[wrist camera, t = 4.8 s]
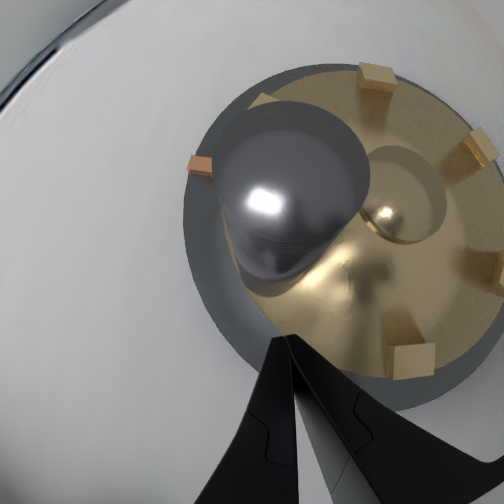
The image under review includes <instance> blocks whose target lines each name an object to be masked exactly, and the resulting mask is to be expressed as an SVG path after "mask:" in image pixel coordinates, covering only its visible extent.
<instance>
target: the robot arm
mask: <svg viewBox="0 0 504 504" xmlns="http://www.w3.org/2000/svg"><path fill="white" fill-rule="evenodd" d="M294 397H295V400H296V403H297V406H298V408H299V411H300V414H301V417H302V419H303V422H304V425H305V428H306V430H307V433H308V436H309V439H310V441H311V444H312V447H313V450H314V452H315V455H316V458H317V460H318V463H319V466H320V469H321V471H322V474H323V477H324V479H325V482H326V485H327V488H328V490H329V493H330V495H331V498H332V501H333V504H504V455H503V456H502V457H500V458H499V459H497V460H496V461H494V462H489V463H486V462H482V461H479V460H477V459H475V458H474V457H472V456H470V455H468V454H466V453H464V452H462V451H461V450H459V449H457V448H455V447H453V446H452V445H450V444H448V443H446V442H444V441H443V440H441V439H439V438H437V437H436V436H434V435H432V434H430V433H429V432H427V431H425V430H424V429H422V428H420V427H418V426H417V425H415V424H413V423H412V422H410V421H408V420H407V419H405V418H403V417H402V416H400V415H398V414H397V413H395V412H393V411H392V410H390V409H389V408H387V407H386V406H384V405H383V404H381V403H380V402H379V401H377V400H376V399H375V398H373V397H372V396H371V395H369V394H368V393H367V392H366V391H365V390H363V389H361V388H360V387H359V386H358V385H357V384H356V383H354V382H353V381H352V380H351V379H350V378H348V377H347V376H346V375H345V374H343V373H342V372H341V371H340V370H339V369H338V368H336V367H335V366H334V365H333V364H332V363H330V362H329V361H328V360H327V359H326V358H324V357H323V356H322V355H321V354H320V353H318V352H317V351H316V350H315V349H314V348H313V347H311V346H310V345H309V344H308V343H307V342H306V341H304V340H303V339H302V338H301V337H300V336H299V335H297V334H290V335H285V337H284V336H278V337H273V338H271V341H270V344H269V346H268V349H267V352H266V355H265V358H264V361H263V364H262V367H261V370H260V372H259V375H258V378H257V381H256V384H255V386H254V389H253V392H252V395H251V397H250V400H249V403H248V406H247V408H246V411H245V413H244V416H243V418H242V421H241V423H240V426H239V428H238V430H237V433H236V435H235V436H234V438H233V440H232V442H231V444H230V446H229V448H228V449H227V451H226V453H225V454H224V456H223V458H222V459H221V461H220V463H219V464H218V466H217V468H216V469H215V471H214V472H213V474H212V476H211V477H210V479H209V481H208V482H207V484H206V485H205V487H204V489H203V490H202V492H201V493H200V495H199V496H198V498H197V499H196V501H195V503H194V504H299V492H298V464H297V441H296V421H295V403H294Z"/></svg>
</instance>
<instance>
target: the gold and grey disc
mask: <svg viewBox="0 0 504 504" xmlns="http://www.w3.org/2000/svg"><path fill="white" fill-rule="evenodd" d="M358 66H359V65H350V64H318V65H310V66H303V67H299V68H295V69H291V70H288V71H284V72H282V73H279V74H277V75H274V76H272V77H269V78H267V79H265V80H263V81H261V82H260V83H258V84H256V85H254V86H253V87H251V88H249V89H248V90H247V91H245V92H244V93H243V94H241V95H240V96H239V97H237V98H236V99H235V100H234V101H233V102H232V103H231V104H230V105H229V106H228V107H227V108H226V109H225V110H224V111H223V112H222V113H221V114H220V115H219V116H218V117H217V119H216V120H215V121H214V123H213V124H212V126H211V127H210V128H209V130H208V131H207V133H206V134H205V136H204V138H203V140H202V142H201V144H200V146H199V148H198V150H197V151H196V154H195V156H194V155H191V158H190V161H189V164H188V167H187V170H188V172H189V174H188V180H187V185H186V190H185V196H184V212H183V228H184V238H185V246H186V253H187V257H188V261H189V265H190V268H191V272H192V276H193V280H194V282H195V284H196V287H197V289H198V291H199V294H200V296H201V298H202V301H203V303H204V305H205V307H206V309H207V311H208V312H209V314H210V316H211V317H212V319H213V321H214V322H215V324H216V326H217V327H218V329H219V330H220V332H221V333H222V335H223V336H224V337H225V338H226V340H227V341H228V342H229V343H230V344H231V346H232V347H233V348H234V349H235V350H236V352H237V353H238V354H239V355H240V356H241V357H242V358H243V359H244V360H245V361H246V362H247V363H249V364H250V365H251V366H252V367H253V368H254V369H255V370H256V371H258V372H260V370H261V367H262V364H263V361H264V358H265V355H266V352H267V349H268V346H269V344H270V341H271V338H273V337H278V336H284V335H283V334H282V333H281V332H280V331H279V330H278V329H276V328H275V327H274V326H273V325H272V324H271V322H270V321H269V320H268V319H267V318H266V316H265V315H264V314H263V313H262V312H261V310H260V309H259V308H258V307H257V305H256V304H255V302H254V301H253V299H252V297H251V296H250V294H249V293H248V291H247V290H246V288H245V286H244V284H243V282H242V280H241V278H240V276H239V273H238V271H237V269H236V267H235V265H234V262H233V259H232V256H231V252H230V249H229V246H228V242H227V239H226V235H225V230H224V223H223V217H222V209H221V206H220V202H219V199H218V195H217V191H216V188H215V184H214V181H213V176H212V155H213V150H214V147H215V144H216V142H217V140H218V138H219V136H220V134H221V133H222V131H223V130H224V128H225V127H226V126H227V125H228V124H229V123H230V122H231V121H232V120H233V119H234V118H236V117H237V116H238V115H240V114H241V113H243V112H244V111H246V110H247V109H248V108H249V107H250V106H251V105H252V103H253V102H254V101H255V100H256V99H257V98H258V96H259V95H260V94H261V93H264V94H267V95H269V96H270V95H271V94H273V93H274V92H275V91H277V90H278V89H280V88H282V87H284V86H286V85H287V84H289V83H291V82H294V81H296V80H299V79H301V78H304V77H307V76H311V75H315V74H319V73H324V72H332V71H357V69H358ZM395 78H396V79H397V80H400V81H403V82H406V83H408V84H410V85H412V86H414V87H416V88H418V89H420V90H422V91H424V92H426V93H427V94H429V95H431V96H432V97H434V98H435V99H437V100H438V101H440V102H441V103H442V104H444V105H445V106H446V107H448V108H449V109H450V110H451V111H452V112H454V113H455V114H456V115H457V116H458V117H459V118H460V119H461V120H462V121H463V122H464V123H465V124H466V125H467V126H468V127H469V128H470V129H471V130H472V131H473V129H472V128H471V126H470V125H469V124H468V123H467V122H466V121H465V120H464V119H463V118H462V117H461V116H460V115H459V114H458V113H457V112H456V111H454V110H453V109H452V108H451V107H450V106H449V105H447V104H446V103H445V102H443V101H442V100H441V99H439V98H438V97H437V96H435V95H434V94H432V93H431V92H429V91H427V90H426V89H424V88H422V87H420V86H419V85H417V84H415V83H413V82H411V81H409V80H406V79H404V78H402V77H400V76H397V75H395ZM493 162H494V164H495V166H496V168H497V170H498V172H499V174H500V176H501V179H502V181H503V184H504V177H503V175H502V173H501V170H500V168H499V166H498V164H497V163H496V161H495V159H494V160H493ZM503 330H504V302H503V304H502V306H501V308H500V310H499V312H498V314H497V316H496V318H495V319H494V321H493V322H492V324H491V325H490V327H489V328H488V330H487V331H486V332H485V333H484V335H483V336H482V337H481V338H480V339H479V340H478V341H477V343H476V344H475V345H473V346H472V347H471V348H470V349H469V350H467V351H466V352H465V353H464V354H463V355H461V356H460V357H458V358H457V359H455V360H453V361H452V362H450V363H448V364H447V365H445V366H443V367H440V368H438V369H435V370H434V375H430V376H423V377H416V378H409V379H401V380H390V379H388V378H380V377H372V376H364V375H359V374H356V373H352V372H349V371H346V370H342V369H339V368H338V369H339V370H340V371H341V372H342V373H343V374H345V375H346V376H347V377H348V378H350V379H351V380H352V381H353V382H354V383H356V384H357V385H358V386H359V387H360V388H361V389H363V390H365V391H366V392H367V393H368V394H369V395H371V396H372V397H373V398H375V399H376V400H377V401H379V402H380V403H381V404H383V405H384V406H386V407H387V408H389V409H390V410H392V411H393V412H396V411H400V410H405V409H409V408H413V407H416V406H419V405H421V404H424V403H426V402H429V401H431V400H434V399H436V398H438V397H440V396H441V395H443V394H445V393H446V392H448V391H450V390H451V389H453V388H454V387H456V386H457V385H458V384H460V383H461V382H462V381H463V380H465V379H466V378H467V377H468V376H469V375H470V374H472V373H473V372H474V371H475V370H476V368H477V367H478V366H479V365H480V364H481V363H482V362H483V361H484V359H485V358H486V357H487V356H488V354H489V353H490V352H491V350H492V349H493V347H494V346H495V344H496V343H497V341H498V339H499V338H500V336H501V334H502V332H503ZM284 337H285V336H284ZM336 368H337V367H336Z"/></svg>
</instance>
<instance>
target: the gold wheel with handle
mask: <svg viewBox="0 0 504 504" xmlns="http://www.w3.org/2000/svg"><path fill="white" fill-rule="evenodd" d="M498 156H499V153H498V152H497V150H496V149H495V147H494V146H493V144H492V143H491V141H490V140H489V139H488V137H487V136H486V134H485V133H484V132H483V130H482V129H481V127H479V128H477V129H475V130H473V131H472V130H471V129H470V128H469V127H468V126H467V125H466V124H465V123H464V122H463V121H462V120H461V119H460V118H459V117H458V116H457V115H456V114H455V113H454V112H452V111H451V110H450V109H449V108H448V107H446V106H445V105H444V104H442V103H441V102H440V101H438V100H437V99H435V98H434V97H432V96H431V95H429V94H427V93H426V92H424V91H422V90H420V89H418V88H416V87H414V86H412V85H410V84H408V83H406V82H403V81H400V80H397V79H396V78H395V75H394V72H393V70H392V68H389V67H384V66H379V65H373V64H368V63H362V62H360V63H359V66H358V69H357V71H332V72H324V73H319V74H315V75H311V76H307V77H304V78H301V79H299V80H296V81H294V82H291V83H289V84H287V85H286V86H284V87H282V88H280V89H278V90H277V91H275V92H274V93H273V94H271V95H270V96H269V95H267V94H264V93H261V94H260V95H259V96H258V98H257V99H256V100H255V101H254V102H253V103H252V105H251V106H250V107H249V108H248V109H247V110H246V111H244V112H243V113H241V114H240V115H238V116H237V117H236V118H234V119H233V120H232V121H231V122H230V123H229V124H228V125H227V126H226V127H225V128H224V130H223V131H222V133H221V134H220V136H219V138H218V140H217V142H216V144H215V147H214V150H213V155H212V176H213V181H214V184H215V188H216V191H217V195H218V199H219V202H220V206H221V209H222V217H223V223H224V230H225V235H226V239H227V242H228V246H229V249H230V252H231V256H232V259H233V262H234V265H235V267H236V269H237V271H238V273H239V276H240V278H241V280H242V282H243V284H244V286H245V288H246V290H247V291H248V293H249V294H250V296H251V297H252V299H253V301H254V302H255V304H256V305H257V307H258V308H259V309H260V310H261V312H262V313H263V314H264V315H265V316H266V318H267V319H268V320H269V321H270V322H271V324H272V325H273V326H274V327H275V328H276V329H278V330H279V331H280V332H281V333H282V334H283V335H284V336H285V335H290V334H297V335H299V336H300V337H301V338H302V339H303V340H304V341H306V342H307V343H308V344H309V345H310V346H311V347H313V348H314V349H315V350H316V351H317V352H318V353H320V354H321V355H322V356H323V357H324V358H326V359H327V360H328V361H329V362H330V363H332V364H333V365H334V366H335V367H337V368H339V369H342V370H346V371H349V372H352V373H356V374H359V375H364V376H372V377H380V378H388V379H390V380H401V379H409V378H416V377H423V376H430V375H434V370H435V369H438V368H440V367H443V366H445V365H447V364H448V363H450V362H452V361H453V360H455V359H457V358H458V357H460V356H461V355H463V354H464V353H465V352H466V351H467V350H469V349H470V348H471V347H472V346H473V345H475V344H476V343H477V341H478V340H479V339H480V338H481V337H482V336H483V335H484V333H485V332H486V331H487V330H488V328H489V327H490V325H491V324H492V322H493V321H494V319H495V318H496V316H497V314H498V312H499V310H500V308H501V306H502V304H503V302H504V184H503V181H502V179H501V176H500V174H499V172H498V170H497V168H496V166H495V164H494V162H493V160H494V159H496V158H497V157H498Z"/></svg>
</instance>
